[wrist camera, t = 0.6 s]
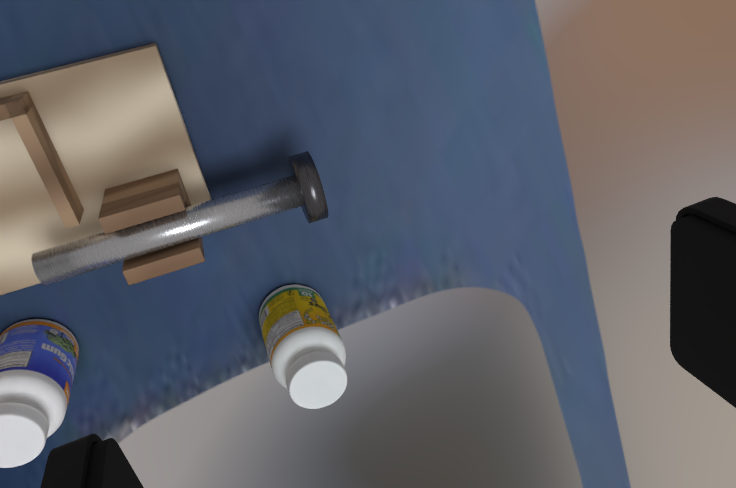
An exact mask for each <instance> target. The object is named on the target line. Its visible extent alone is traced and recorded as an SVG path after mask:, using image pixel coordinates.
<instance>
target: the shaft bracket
mask: <svg viewBox="0 0 736 488" xmlns="http://www.w3.org/2000/svg"><path fill="white" fill-rule="evenodd" d="M209 200H211V197H210V194H209V191H208V188H207V185H206V183H205V180H204V177H203V174H202V171H201V168H200V166H199V163H198V160H197V157H196V154H195V152H194V149H193V146H192V143H191V140H190V137H189V135H188V132H187V129H186V126H185V123H184V120H183V118H182V115H181V112H180V109H179V106H178V104H177V101H176V98H175V95H174V92H173V89H172V87H171V84H170V81H169V78H168V75H167V72H166V70H165V67H164V64H163V61H162V58H161V56H160V53H159V50H158V47H157V44H156V43H152V44H148V45H144V46H140V47H136V48H132V49H128V50H124V51H120V52H116V53H112V54H108V55H104V56H100V57H96V58H92V59H88V60H84V61H80V62H76V63H72V64H68V65H64V66H60V67H56V68H52V69H48V70H44V71H40V72H36V73H32V74H28V75H24V76H20V77H16V78H12V79H8V80H4V81H0V295H3V294H6V293H9V292H12V291H16V290H19V289H22V288H25V287H29V286H32V285H35V284H38V283H41V282H40V281H39V280H38V278H37V276H36V274H35V272H34V269H33V266H32V259H31V258H32V254H33V253H35V252H38V251H42V250H45V249H48V248H52V247H55V246H59V245H62V244H65V243H69V242H72V241H75V240H79V239H82V238H85V237H89V236H92V235H95V234H99V233H102V232H104V233H105V234H107V233H111V232H114V231H117V230H121V229H124V228H127V227H131V226H134V225H137V224H141V223H144V222H147V221H151V220H154V219H157V218H161V217H164V216H167V215H171V214H174V213H177V212H181V211H184V210H185V208H186V207H189V206H192V205H196V204H199V203H202V202H206V201H209ZM201 262H205V258H204V251H203V244H202V237H199V238H196V239H193V240H190V241H186V242H183V243H180V244H177V245H174V246H170V247H167V248H164V249H161V250H157V251H154V252H151V253H148V254H144V255H141V256H138V257H135V258H131V259H128V260H125V261H124V263H123V271H122V272H123V274H124V276H125V278H126V280H127V282H128V285H132V284H135V283H138V282H141V281H144V280H148V279H151V278H154V277H157V276H160V275H163V274H167V273H170V272H173V271H176V270H179V269H182V268H186V267H189V266H192V265H195V264H198V263H201Z"/></svg>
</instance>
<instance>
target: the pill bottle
mask: <svg viewBox="0 0 736 488" xmlns="http://www.w3.org/2000/svg"><path fill="white" fill-rule="evenodd" d="M78 355H79V347H78V343H77V340H76V338H75V337H74V335H73V334H72V333H71V332H70V331H69V330H68V329H67V328H66V327H64V326H63V325H61V324H59V323H56V322H54V321H50V320H45V319H30V320H24V321H20V322H17V323H15V324H13V325H11V326H10V327H8V328H7V329H6V330H5V331H4V332H3V333H2V334H1V335H0V467H1V468H9V467H16V466H20V465H23V464H26V463H28V462H30V461H31V460H33V459H34V458H36V457H37V456H38V455H39V454H40V452H41V451H42V449H43V447H44V445H45V442H46V438H47V437H49V436H50V435H52V434H53V433H54V432H55V431H56V430H57V429H58V428H59V426H60V425H61V423H62V421H63V419H64V416H65V413H66V409H67V405H68V401H69V396H70V392H71V387H72V383H73V378H74V374H75V370H76V366H77V361H78Z"/></svg>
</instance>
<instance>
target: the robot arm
mask: <svg viewBox="0 0 736 488" xmlns="http://www.w3.org/2000/svg"><path fill="white" fill-rule="evenodd" d="M670 284H671V285H670V287H671V288H670V289H671V290H670V292H671V293H670V296H671V297H670V298H671V299H670V300H671V301H670V306H671V307H670V347H671V351H672V355H673V356H674V358H675V360H676V361H677V362H678V364H679V365H680V366H682V367H683V368H684V369H685V370H687V371H688V372H689V373H691V374H692V375H693V376H694V377H696V378H697V379H698V380H700V381H701V382H702V383H704V384H705V385H706V386H708V387H709V388H710V389H712V390H713V391H714V392H716V393H717V394H718V395H720V396H721V397H722V398H723V399H725V400H726V401H727V402H729V403H730V404H732V405H733V406H734V407H735V408H736V204H735V203H732V202H729V201H727V200H725V199H722V198H718V197H713V198H708V199H706V200H703V201H701V202H698V203H695V204H693V205H690V206H688V207H685V208H683V209H681V210H680V211H679V212H678V214H677V216H676V221H674V222H673V224H672V226H671V282H670ZM41 488H143V486H142V484H141V483H140V481H139V479H138V477H137V476H136V474H135V472H134V470H133V469H132V467H131V465H130V464H129V462H128V460H127V459H126V457H125V455H124V453H123V452H122V450H121V448H120V447H119V445H118V443H117V442H116V441H115V440H114V439H113V438H109V439H107V440H104V441H102V440H101V438H100V437H99V436H97V435H96V434H91V435H88V436H86V437H83V438H80V439H78V440H75V441H73V442H70V443H67V444H65V445H62V446H59V447H57V448H54V449H53V450H52V451H50V454H49V456H48V460H47V464H46V468H45V472H44V476H43V480H42V484H41Z"/></svg>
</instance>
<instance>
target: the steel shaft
mask: <svg viewBox="0 0 736 488" xmlns="http://www.w3.org/2000/svg"><path fill="white" fill-rule="evenodd" d="M288 161H289V166H290V171H291V175H292V176H290V177H286V178H283V179H280V180H276V181H273V182H269V183H266V184H263V185H259V186H256V187H253V188H249V189H246V190H243V191H239V192H236V193H233V194H229V195H226V196H223V197H219V198H216V199H213V200H209V201H206V202H202V203H199V204H196V205H192V206H189V207H186V208H185V210H184V211H181V212H177V213H174V214H171V215H167V216H164V217H161V218H157V219H154V220H151V221H147V222H144V223H141V224H137V225H134V226H131V227H127V228H124V229H121V230H117V231H114V232H111V233H107V234H105V233H104V232H102V233H99V234H95V235H92V236H89V237H85V238H82V239H79V240H75V241H72V242H69V243H65V244H62V245H59V246H55V247H52V248H48V249H45V250H42V251H38V252H35V253H33V254H32V258H31V259H32V266H33V269H34V272H35V274H36V276H37V278H38V280H39V281H40V282H41V283H42V284H43V285H47V284H50V283H54V282H57V281H60V280H63V279H67V278H70V277H73V276H76V275H80V274H83V273H86V272H89V271H92V270H96V269H99V268H102V267H105V266H109V265H112V264H115V263H118V262H122V261H125V260H128V259H131V258H135V257H138V256H141V255H144V254H148V253H151V252H154V251H157V250H161V249H164V248H167V247H170V246H174V245H177V244H180V243H183V242H186V241H190V240H193V239H196V238H199V237H203V236H206V235H209V234H212V233H216V232H219V231H222V230H225V229H229V228H232V227H235V226H238V225H242V224H245V223H248V222H251V221H255V220H258V219H261V218H264V217H267V216H271V215H274V214H277V213H280V212H284V211H287V210H290V209H293V208H297V207H300V206H301V207H302V209H303V212H304V214H305V217H306V219H307V221H308V222H309V223H312V222H315V221H318V220H321V219H325V218H328V208H327V203H326V199H325V195H324V191H323V187H322V184H321V181H320V178H319V175H318V172H317V169H316V167H315V164H314V162H313V160H312V158H311V156H310V154H309V152H303V153H300V154H296V155H293V156H289V157H288Z"/></svg>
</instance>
